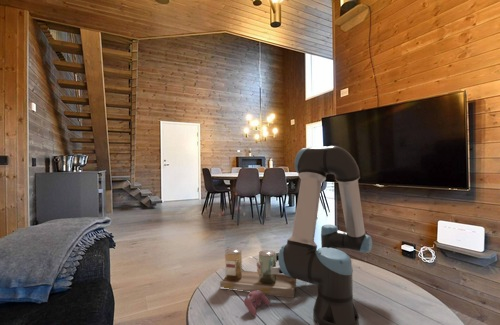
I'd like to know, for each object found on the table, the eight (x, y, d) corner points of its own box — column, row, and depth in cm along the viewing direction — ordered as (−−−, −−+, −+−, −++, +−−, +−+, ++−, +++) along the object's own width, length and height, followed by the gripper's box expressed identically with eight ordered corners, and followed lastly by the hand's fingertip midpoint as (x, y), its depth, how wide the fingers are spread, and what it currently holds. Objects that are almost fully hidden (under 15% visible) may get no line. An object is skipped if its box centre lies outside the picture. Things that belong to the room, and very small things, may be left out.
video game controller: (263, 305, 100) (256, 287, 102) (271, 304, 98) (264, 285, 100) (247, 317, 92) (240, 298, 95) (255, 316, 90) (248, 296, 92)
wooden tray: (293, 297, 103) (293, 290, 103) (220, 289, 111) (219, 282, 111) (296, 280, 118) (296, 273, 118) (231, 274, 126) (231, 268, 126)
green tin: (272, 276, 118) (272, 249, 118) (278, 283, 110) (278, 254, 111) (255, 278, 115) (255, 251, 116) (261, 285, 108) (260, 256, 108)
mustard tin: (228, 273, 121) (228, 247, 122) (243, 274, 120) (243, 248, 120) (222, 280, 114) (222, 253, 114) (238, 282, 112) (238, 254, 112)
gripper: (323, 280, 105) (275, 286, 101) (300, 258, 130) (260, 262, 126) (323, 262, 106) (274, 267, 101) (300, 244, 130) (260, 247, 126)
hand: (266, 264), depth 114 cm, fingers open, 13 cm apart
